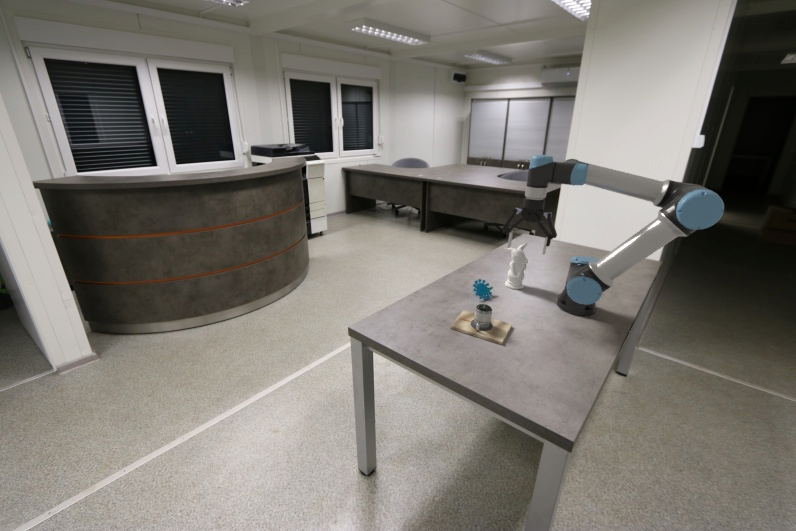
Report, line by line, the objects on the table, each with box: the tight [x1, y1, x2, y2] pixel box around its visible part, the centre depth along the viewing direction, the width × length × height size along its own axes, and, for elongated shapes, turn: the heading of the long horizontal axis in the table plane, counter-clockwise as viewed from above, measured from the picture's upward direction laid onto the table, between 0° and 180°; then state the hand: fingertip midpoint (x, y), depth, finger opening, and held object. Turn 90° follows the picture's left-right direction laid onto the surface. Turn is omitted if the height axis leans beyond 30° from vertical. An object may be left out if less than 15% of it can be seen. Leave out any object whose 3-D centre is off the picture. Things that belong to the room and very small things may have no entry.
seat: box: [471, 320, 493, 331], centre depth 136 cm, size 8×8×1 cm
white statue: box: [504, 240, 529, 291], centre depth 169 cm, size 12×12×22 cm
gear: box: [472, 278, 494, 301], centre depth 161 cm, size 11×6×10 cm
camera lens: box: [474, 303, 493, 328], centre depth 134 cm, size 6×6×8 cm
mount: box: [450, 310, 513, 345], centre depth 136 cm, size 20×14×1 cm
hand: (525, 250), depth 141 cm, fingers open, 13 cm apart
